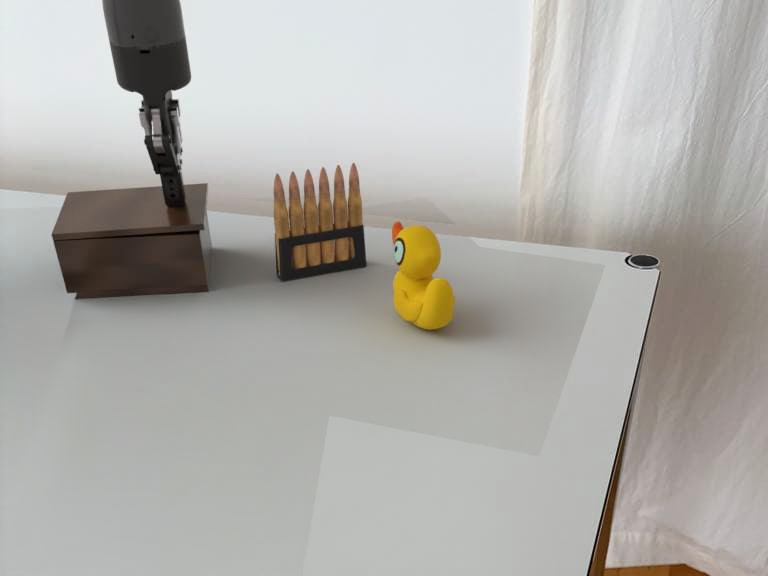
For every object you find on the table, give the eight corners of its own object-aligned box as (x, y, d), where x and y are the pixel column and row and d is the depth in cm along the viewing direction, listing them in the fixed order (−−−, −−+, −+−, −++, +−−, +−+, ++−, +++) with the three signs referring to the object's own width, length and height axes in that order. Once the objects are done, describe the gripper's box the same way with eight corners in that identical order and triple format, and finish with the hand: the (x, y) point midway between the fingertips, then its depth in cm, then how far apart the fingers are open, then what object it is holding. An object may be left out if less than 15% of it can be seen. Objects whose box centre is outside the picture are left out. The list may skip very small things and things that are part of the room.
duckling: (374, 302, 101) (372, 215, 95) (416, 292, 103) (417, 206, 96) (421, 349, 94) (423, 258, 87) (465, 337, 96) (471, 247, 89)
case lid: (208, 188, 107) (207, 182, 106) (204, 230, 98) (203, 223, 98) (69, 198, 105) (67, 192, 105) (52, 240, 97) (51, 234, 96)
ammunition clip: (280, 281, 105) (271, 178, 97) (276, 274, 106) (266, 171, 98) (366, 266, 108) (364, 164, 100) (361, 260, 109) (358, 158, 101)
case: (211, 247, 111) (203, 192, 107) (208, 291, 103) (199, 234, 98) (82, 253, 110) (69, 198, 105) (68, 298, 101) (52, 241, 97)
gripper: (115, 17, 94) (147, 183, 106) (100, 52, 85) (136, 230, 96) (188, 15, 95) (211, 180, 107) (180, 50, 85) (207, 227, 97)
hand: (176, 204), depth 102 cm, fingers closed
